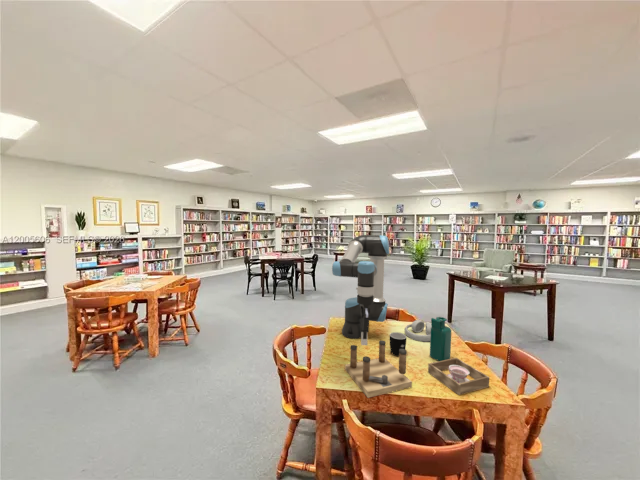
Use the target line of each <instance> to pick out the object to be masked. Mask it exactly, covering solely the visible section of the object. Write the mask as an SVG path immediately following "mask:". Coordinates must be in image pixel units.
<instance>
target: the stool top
mask: <svg viewBox="0 0 640 480" xmlns="http://www.w3.org/2000/svg"><path fill="white" fill-rule="evenodd" d="M386 343H387V342H386V341H385V340H381V339H380V340H379V341H378V345H379V346H378V358H372V359H370V376H374V377H381V378H382V376H383V375H386V376H387V377H388V383H387V384H384V383H381V382H374V381H364V380H363V360H362V361H358V359H357V357H358V355H357V354H358V346H357V345H356V344H351V345H350V362H349V363H347V364H344V370H345V372H346V373H347V374H348V375H349V377H351V379H352V380H353V381H354V382H355V384H356V385H357V387H359V389H360V390H361V391H362V393H363V394H364V396H366V398H367V399H369V398H373V397H376V396H381V395H385V394H389V393H388V392H390V393H393V392H392V391H394V392H397V391H396V390H398V391H401V390H400V389H402V390H405V389H404V388H406V389H409V387H410V388H412V387H413V381H412V380H411V379H410V378H409V377H407V376H406V375H405V374H400V373H399V368H397V367H396V366H394V364H392V363H391V361H388V360H387V358H386Z"/></svg>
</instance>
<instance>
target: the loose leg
mask: <svg viewBox="0 0 640 480" xmlns="http://www.w3.org/2000/svg"><path fill="white" fill-rule="evenodd" d="M407 351H408V350H406V348H405V349H399V356H398V370H399V373H400V374H404V375H405V374H407V373H406V372H407V354H408V353H407Z"/></svg>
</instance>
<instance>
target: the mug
mask: <svg viewBox="0 0 640 480" xmlns="http://www.w3.org/2000/svg"><path fill="white" fill-rule="evenodd" d="M406 345H407V335H406V334H404V333H402V332H397V331H395V332H391V333H389V348H390V352H391V354H392V355H393V356H397V357H399V349H405V350H406V348H407V346H406Z"/></svg>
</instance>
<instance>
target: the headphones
mask: <svg viewBox="0 0 640 480" xmlns="http://www.w3.org/2000/svg"><path fill="white" fill-rule="evenodd" d="M431 327H432V325H431V321H430V322H429V321H425V322H424V321H423V320H421V319H415V320H413V321H412V322H411V323H410V324H408V325H406V326H405V327H404V333H405V334H404V335H406V337H407V338H409V339H412V340H413V341H417V342H430V334H431ZM409 328H411V330H412V331H413V332H412V331H410V330H408V329H409ZM424 328H425V334H416V333H421V332H423V330H424ZM414 332H415V333H414Z"/></svg>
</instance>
